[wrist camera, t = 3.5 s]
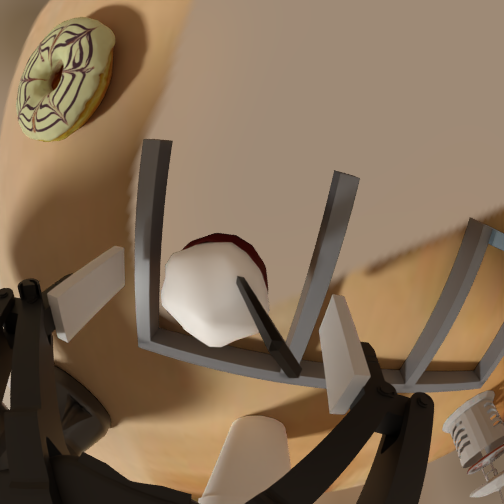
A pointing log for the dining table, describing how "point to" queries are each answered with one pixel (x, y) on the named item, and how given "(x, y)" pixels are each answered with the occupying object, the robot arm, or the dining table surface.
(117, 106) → the dining table surface
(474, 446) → the french press
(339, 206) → the organizer
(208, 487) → the foam cup
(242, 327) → the cocoa
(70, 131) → the decorated donut
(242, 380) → the dining table surface
